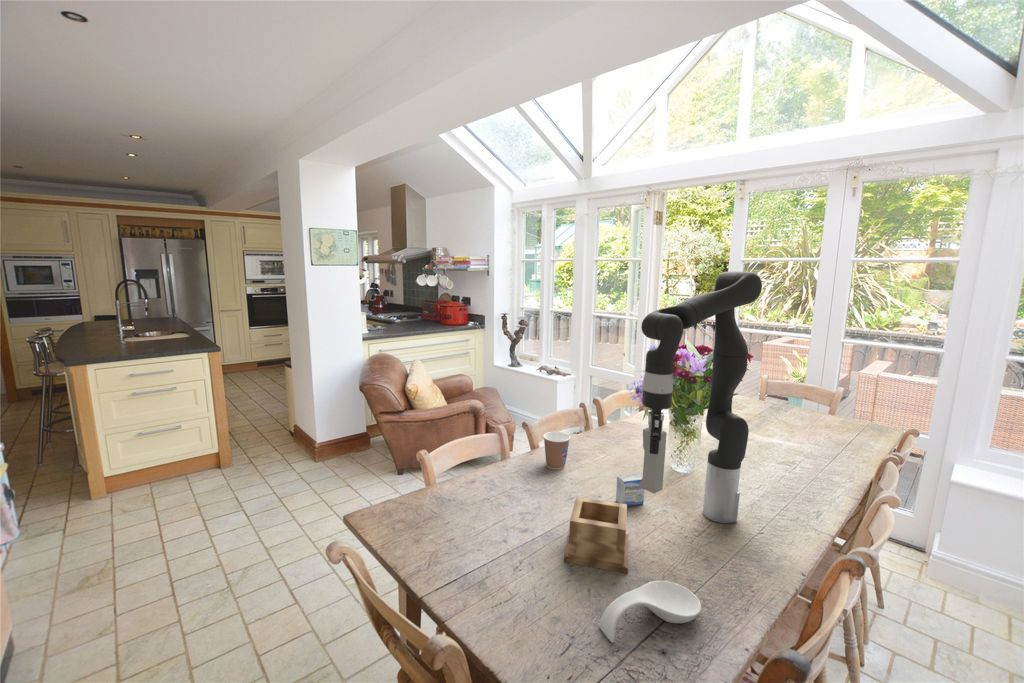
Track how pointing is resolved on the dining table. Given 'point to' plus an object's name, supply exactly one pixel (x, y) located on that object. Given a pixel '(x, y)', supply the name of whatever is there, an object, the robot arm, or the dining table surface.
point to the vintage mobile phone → (653, 463)
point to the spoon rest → (653, 604)
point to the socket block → (598, 535)
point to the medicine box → (629, 490)
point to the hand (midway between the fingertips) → (653, 448)
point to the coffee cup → (556, 449)
